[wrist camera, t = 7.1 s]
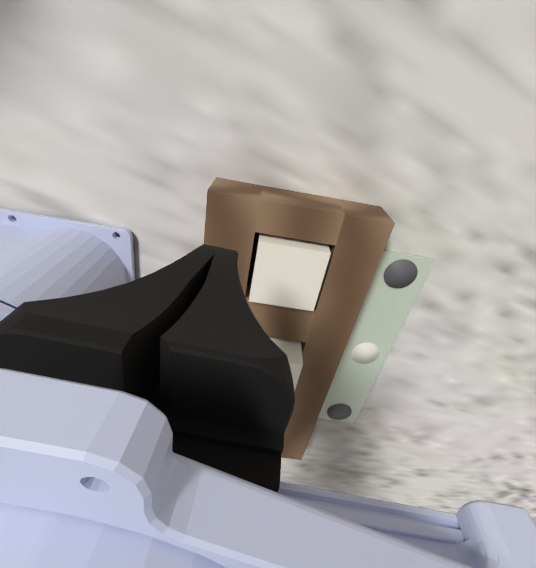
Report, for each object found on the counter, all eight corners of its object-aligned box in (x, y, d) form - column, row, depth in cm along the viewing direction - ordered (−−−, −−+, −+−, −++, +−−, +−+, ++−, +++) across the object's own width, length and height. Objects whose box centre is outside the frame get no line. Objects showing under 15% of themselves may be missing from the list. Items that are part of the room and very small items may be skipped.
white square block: (252, 276, 24) (248, 301, 21) (261, 221, 22) (258, 241, 19) (309, 285, 24) (313, 311, 22) (324, 232, 22) (330, 253, 19)
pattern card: (315, 415, 33) (316, 419, 33) (379, 249, 23) (381, 252, 23) (353, 420, 33) (354, 424, 33) (433, 258, 23) (435, 261, 23)
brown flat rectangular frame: (196, 418, 34) (190, 445, 31) (216, 177, 21) (207, 190, 18) (299, 432, 34) (301, 459, 32) (381, 206, 21) (394, 223, 19)
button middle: (237, 365, 27) (232, 397, 24) (244, 325, 25) (239, 355, 22) (289, 372, 27) (290, 405, 25) (300, 333, 25) (302, 364, 22)
